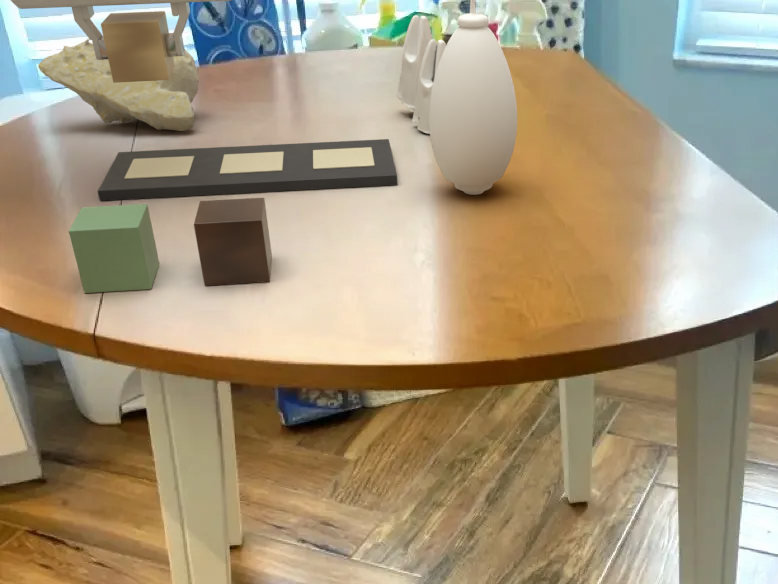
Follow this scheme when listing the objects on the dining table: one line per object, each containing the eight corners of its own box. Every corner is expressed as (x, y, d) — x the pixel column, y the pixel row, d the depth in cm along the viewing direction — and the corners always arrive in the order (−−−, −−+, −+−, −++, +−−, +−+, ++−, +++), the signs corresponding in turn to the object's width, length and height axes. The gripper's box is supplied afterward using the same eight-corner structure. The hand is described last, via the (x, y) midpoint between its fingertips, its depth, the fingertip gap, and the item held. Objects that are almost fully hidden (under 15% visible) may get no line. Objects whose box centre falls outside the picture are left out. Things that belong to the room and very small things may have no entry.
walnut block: (204, 286, 74) (193, 223, 71) (210, 260, 78) (199, 200, 75) (270, 282, 74) (261, 219, 72) (272, 256, 78) (264, 197, 76)
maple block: (113, 82, 87) (100, 23, 85) (121, 70, 92) (110, 13, 89) (168, 80, 88) (158, 21, 85) (175, 67, 92) (165, 10, 89)
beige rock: (233, 134, 114) (164, 36, 116) (228, 99, 107) (154, -5, 109) (119, 195, 111) (49, 94, 112) (106, 163, 104) (31, 55, 105)
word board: (99, 201, 90) (97, 189, 89) (120, 161, 100) (118, 151, 99) (397, 185, 93) (397, 173, 92) (389, 148, 102) (388, 137, 102)
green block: (84, 293, 73) (68, 230, 70) (96, 267, 77) (81, 207, 74) (151, 289, 74) (138, 226, 71) (159, 263, 78) (147, 203, 75)
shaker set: (396, 111, 114) (391, 10, 108) (430, 108, 116) (427, 7, 109) (424, 139, 105) (420, 30, 99) (460, 135, 106) (459, 27, 100)
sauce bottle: (530, 187, 92) (536, -22, 82) (485, 211, 86) (486, -8, 76) (462, 173, 95) (460, -28, 85) (416, 195, 90) (407, -16, 80)
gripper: (234, -123, 84) (255, 44, 92) (-7, -117, 83) (36, 54, 90) (229, -118, 79) (252, 59, 87) (-28, -111, 77) (20, 70, 85)
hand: (140, 57), depth 89 cm, fingers closed on maple block, 5 cm apart
